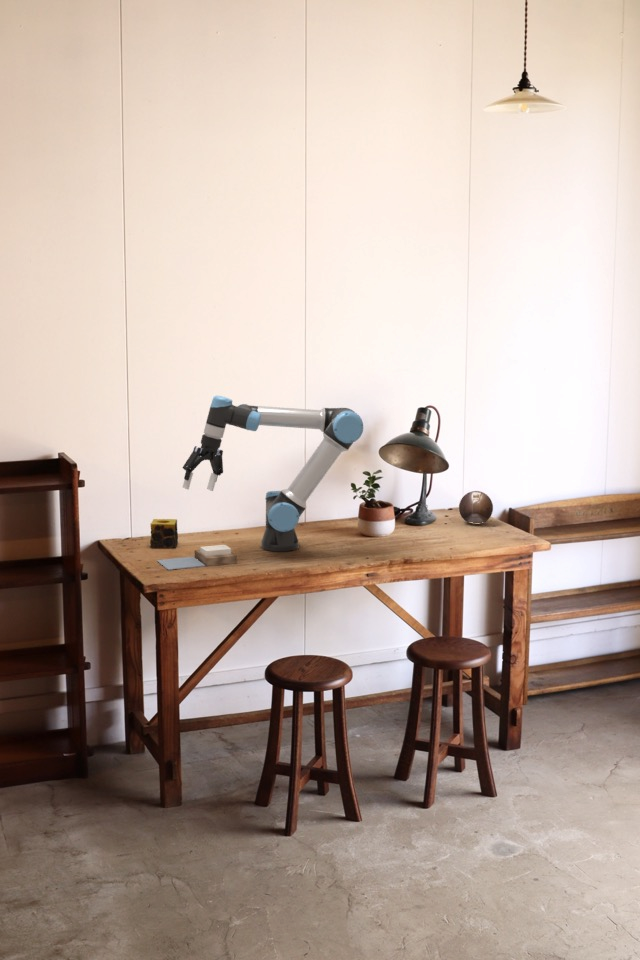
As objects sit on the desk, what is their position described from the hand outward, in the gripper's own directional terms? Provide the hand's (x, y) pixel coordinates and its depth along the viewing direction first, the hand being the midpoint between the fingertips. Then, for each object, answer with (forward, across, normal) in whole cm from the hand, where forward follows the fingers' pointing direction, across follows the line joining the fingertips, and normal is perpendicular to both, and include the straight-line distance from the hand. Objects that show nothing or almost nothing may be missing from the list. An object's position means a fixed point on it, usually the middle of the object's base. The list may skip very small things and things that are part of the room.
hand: (197, 489), depth 406 cm
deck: (+24, -5, +14) cm, 28 cm away
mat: (+27, +7, +8) cm, 29 cm away
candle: (+29, -9, -17) cm, 35 cm away
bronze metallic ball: (-7, -125, +53) cm, 136 cm away
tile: (+21, -4, +14) cm, 25 cm away
